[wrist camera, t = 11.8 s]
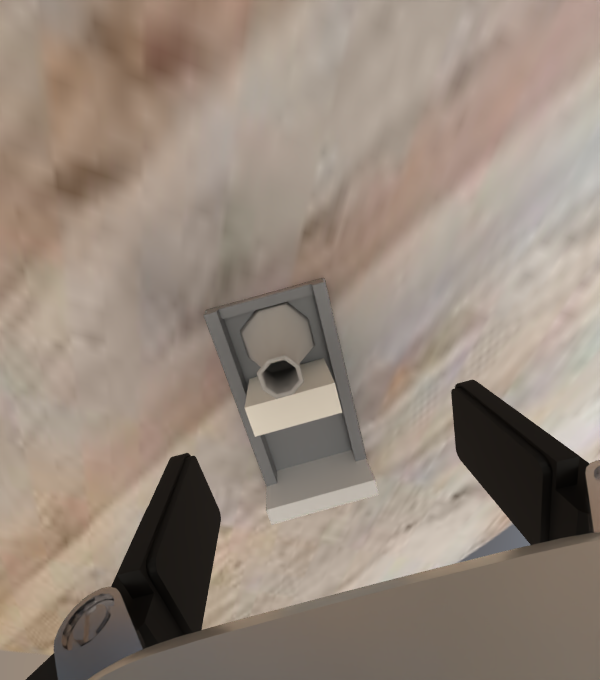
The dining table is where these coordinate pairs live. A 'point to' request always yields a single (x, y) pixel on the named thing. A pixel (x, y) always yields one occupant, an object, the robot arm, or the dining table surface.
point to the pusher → (293, 401)
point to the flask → (278, 347)
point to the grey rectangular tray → (308, 438)
